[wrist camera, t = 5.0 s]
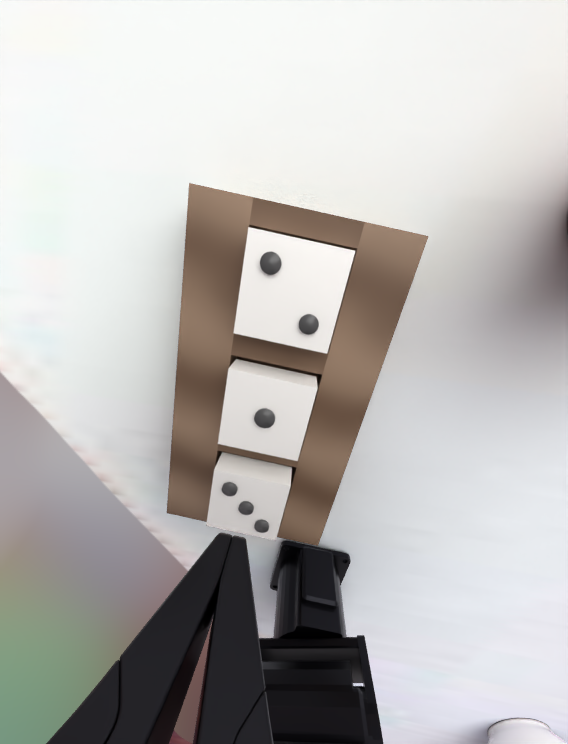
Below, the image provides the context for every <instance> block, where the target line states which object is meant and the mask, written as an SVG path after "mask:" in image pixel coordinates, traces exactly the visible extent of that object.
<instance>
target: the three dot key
mask: <svg viewBox="0 0 568 744" xmlns="http://www.w3.org/2000/svg"><path fill="white" fill-rule="evenodd" d="M291 473H292V467H289V466H284V465H279V464H275V463H270V462H266V461H261V460H256V459H252V458H247V457H243V456H238V455H233V454H229V453H224V452H222V454H221V456H220V458H219V460H218V462H217V465H216V467H215V469H214V474H213V481H212V488H211V496H210V503H209V510H208V517H207V524H206V526H210V527H214V528H219V529H224V530H228V531H233V532H237V533H242V534H247V535H251V536H256V537H260V538H265V539H270V540H274V541H276V538H277V534H278V531H279V527H280V523H281V520H282V516H283V512H284V509H285V505H286V501H287V498H288V494H289V491H290V487H291Z"/></svg>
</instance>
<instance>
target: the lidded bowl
mask: <svg viewBox="0 0 568 744" xmlns="http://www.w3.org/2000/svg"><path fill="white" fill-rule="evenodd" d="M488 736H489V741H488V744H568V743H566V742H565V741H564V740H563V739H561V738H560V737H559V736H557V735H556V734H554V733H553V732H551V730H550V728H549V727H548V726H547V725H546V724H544V723H543V722H540V721H537V720H533V719H526V718H515V719H508V720H503V721H500V722H498V723H496V724H494V725H492V726H491V727H490V728H489V730H488Z"/></svg>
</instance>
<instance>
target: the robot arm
mask: <svg viewBox="0 0 568 744" xmlns="http://www.w3.org/2000/svg"><path fill="white" fill-rule="evenodd" d="M349 564H350V556H349V555H348V554H346V553H342V552H337V551H333V550H328V549H323V548H319V547H314V546H309V545H305V544H300V543H296V542H291V541H283V542H282V544H281V547H280V551H279V554H278V557H277V561H276V564H275V568H274V571H273V575H272V578H271V582H270V588H271V589H272V590H276V591H277V601H276V613H275V625H274V637H273V638H259V635H258V628H257V620H256V612H255V605H254V597H253V589H252V582H251V574H250V566H249V559H248V551H247V543H246V539H245V538H244V537H239V536H233V537H232V535H230V534H225V533H219V534H218V535H217V536H216V537H215V539H214V540H213V541H212V542H211V544H210V545H209V546H208V547H207V549H206V550H205V551H204V552H203V554H202V555H201V556H200V557H199V559H198V560H197V561H196V562H195V564H194V565H193V566H192V567H191V569H190V570H189V571H188V572H187V574H186V575H185V576H184V577H183V579H182V580H181V581H180V582H179V584H178V585H177V586H176V587H175V589H174V590H173V591H172V592H171V594H170V595H169V596H168V597H167V599H166V600H165V601H164V602H163V604H162V605H161V606H160V607H159V609H158V610H157V611H156V613H155V614H154V615H153V616H152V618H151V619H150V620H149V621H148V622H147V624H146V625H145V626H144V627H143V629H142V630H141V631H140V632H139V634H138V635H137V636H136V637H135V639H134V640H133V641H132V643H131V644H130V645H129V646H128V647H127V649H126V650H125V651H124V653H123V654H122V655H121V657H120V661H119V660H118V661H116V662H115V664H114V665H113V666H112V667H111V668H110V670H109V671H108V672H107V674H106V675H105V676H104V677H103V679H102V680H101V681H100V682H99V683H98V685H97V686H96V687H95V688H94V689H93V691H92V692H91V693H90V694H89V696H88V697H87V698H86V699H85V700H84V701H83V703H82V704H81V705H80V706H79V707H78V709H77V710H76V711H75V712H74V713H73V714H72V716H71V717H70V718H69V719H68V720H67V721H66V722H65V723H64V724H63V726H62V727H61V728H60V729H59V730H58V731H57V732H56V733H55V735H54V736H53V737H52V738H51V739H50V740H49V741H48V742H47V743H46V744H169V742H170V739H171V736H172V733H173V730H174V727H175V725H176V722H177V719H178V716H179V713H180V711H181V708H182V705H183V702H184V699H185V696H186V694H187V690H188V688H189V685H190V682H191V680H192V677H193V673H194V671H195V668H196V665H197V663H198V660H199V657H200V654H201V651H202V648H203V646H204V643H205V640H206V637H207V634H208V631H209V628H210V625H211V622H212V627H211V632H210V639H209V644H208V651H207V657H206V663H205V669H204V676H203V683H202V689H201V695H200V702H199V707H198V714H197V721H196V727H195V733H194V740H193V744H383V738H382V732H381V726H380V720H379V715H378V709H377V703H376V698H375V692H374V687H373V681H372V676H371V670H370V665H369V659H368V654H367V648H366V643H365V637H364V635H357V637H346V629H345V621H344V612H343V604H342V595H341V587H340V585H341V583H342V581H343V578H344V576H345V574H346V571H347V569H348V567H349ZM212 619H213V621H212ZM353 683H363V686H353Z"/></svg>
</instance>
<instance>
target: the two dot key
mask: <svg viewBox="0 0 568 744" xmlns="http://www.w3.org/2000/svg"><path fill="white" fill-rule="evenodd" d="M354 254H355V251H354V250H349V249H345V248H340V247H336V246H331V245H327V244H322V243H318V242H313V241H309V240H304V239H300V238H295V237H291V236H286V235H282V234H277V233H273V232H268V231H264V230H259V229H255V228H250V227H248V234H247V241H246V248H245V255H244V262H243V269H242V276H241V283H240V291H239V298H238V305H237V312H236V319H235V326H234V333H235V334H239V335H244V336H249V337H253V338H258V339H262V340H267V341H271V342H276V343H280V344H285V345H289V346H294V347H299V348H303V349H308V350H312V351H317V352H321V353H326V354H327V352H328V349H329V345H330V342H331V338H332V334H333V331H334V327H335V323H336V320H337V316H338V312H339V309H340V305H341V302H342V298H343V294H344V291H345V287H346V283H347V280H348V276H349V272H350V269H351V265H352V262H353V258H354Z"/></svg>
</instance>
